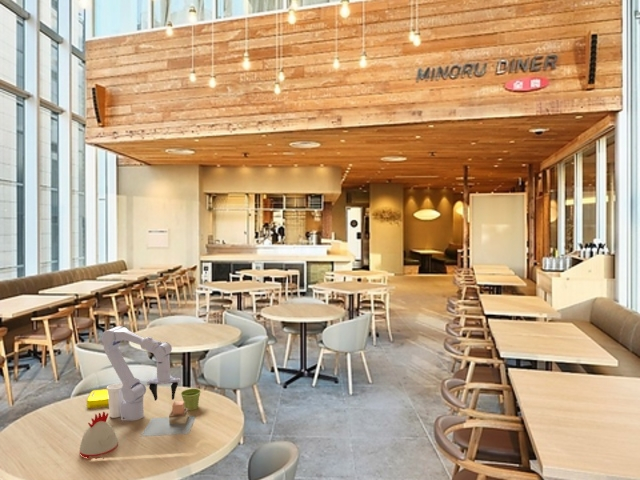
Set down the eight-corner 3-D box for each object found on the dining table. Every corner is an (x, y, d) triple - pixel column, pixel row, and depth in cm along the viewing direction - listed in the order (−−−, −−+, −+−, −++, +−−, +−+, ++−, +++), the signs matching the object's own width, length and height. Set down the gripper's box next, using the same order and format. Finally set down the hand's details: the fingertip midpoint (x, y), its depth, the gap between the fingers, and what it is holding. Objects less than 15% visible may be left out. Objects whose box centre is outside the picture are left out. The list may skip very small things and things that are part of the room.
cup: (129, 412, 223) (128, 383, 223) (120, 419, 215) (119, 389, 215) (113, 411, 224) (112, 382, 224) (104, 419, 216) (102, 388, 216)
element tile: (91, 398, 243) (91, 389, 242) (122, 395, 247) (122, 386, 247) (86, 409, 228) (85, 400, 228) (119, 405, 232) (118, 396, 232)
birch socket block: (169, 424, 208) (169, 415, 208) (172, 417, 215) (172, 408, 215) (185, 423, 209) (185, 414, 208) (188, 416, 216) (188, 408, 215)
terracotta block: (172, 416, 209) (172, 405, 209) (174, 412, 214) (174, 401, 213) (182, 415, 210) (182, 404, 209) (184, 411, 214) (184, 401, 214)
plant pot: (189, 415, 219) (188, 397, 219) (177, 410, 225) (176, 392, 225) (205, 408, 227) (204, 391, 226) (193, 404, 233) (192, 387, 232)
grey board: (140, 438, 197) (140, 436, 197) (152, 420, 215) (151, 417, 215) (188, 436, 198) (188, 433, 198) (196, 417, 216) (196, 415, 216)
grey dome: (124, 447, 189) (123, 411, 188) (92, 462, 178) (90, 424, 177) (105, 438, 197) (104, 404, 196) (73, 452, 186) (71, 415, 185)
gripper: (144, 373, 207) (145, 403, 208) (177, 372, 209) (178, 401, 209) (148, 368, 214) (150, 397, 215) (181, 367, 216) (182, 395, 216)
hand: (164, 399), depth 213 cm, fingers open, 7 cm apart
